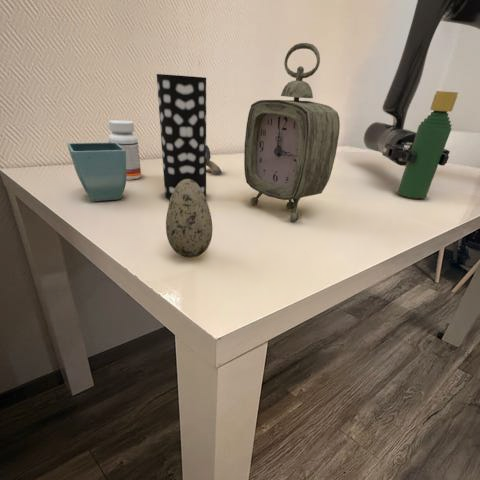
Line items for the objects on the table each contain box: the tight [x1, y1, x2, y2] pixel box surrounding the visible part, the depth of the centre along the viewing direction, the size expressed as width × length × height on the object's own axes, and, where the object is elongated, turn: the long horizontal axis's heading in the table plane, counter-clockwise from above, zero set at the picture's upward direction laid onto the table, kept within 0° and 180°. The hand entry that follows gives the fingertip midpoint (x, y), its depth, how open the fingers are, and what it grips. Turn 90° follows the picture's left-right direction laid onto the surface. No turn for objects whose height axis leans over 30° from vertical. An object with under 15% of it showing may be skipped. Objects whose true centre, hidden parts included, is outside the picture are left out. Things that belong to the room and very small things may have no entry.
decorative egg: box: [165, 179, 213, 259], centre depth 42 cm, size 6×6×10 cm
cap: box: [430, 90, 459, 113], centre depth 68 cm, size 4×4×3 cm
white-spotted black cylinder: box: [156, 73, 207, 201], centre depth 62 cm, size 8×8×20 cm
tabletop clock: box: [243, 42, 341, 223], centre depth 57 cm, size 14×9×25 cm, turn 40°
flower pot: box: [66, 142, 127, 202], centre depth 62 cm, size 9×9×9 cm
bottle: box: [397, 110, 453, 199], centre depth 73 cm, size 6×6×20 cm
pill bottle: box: [108, 119, 142, 181], centre depth 75 cm, size 6×6×11 cm
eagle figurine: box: [206, 144, 223, 176], centre depth 86 cm, size 8×7×9 cm
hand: (428, 159), depth 72 cm, fingers closed on bottle, 6 cm apart
